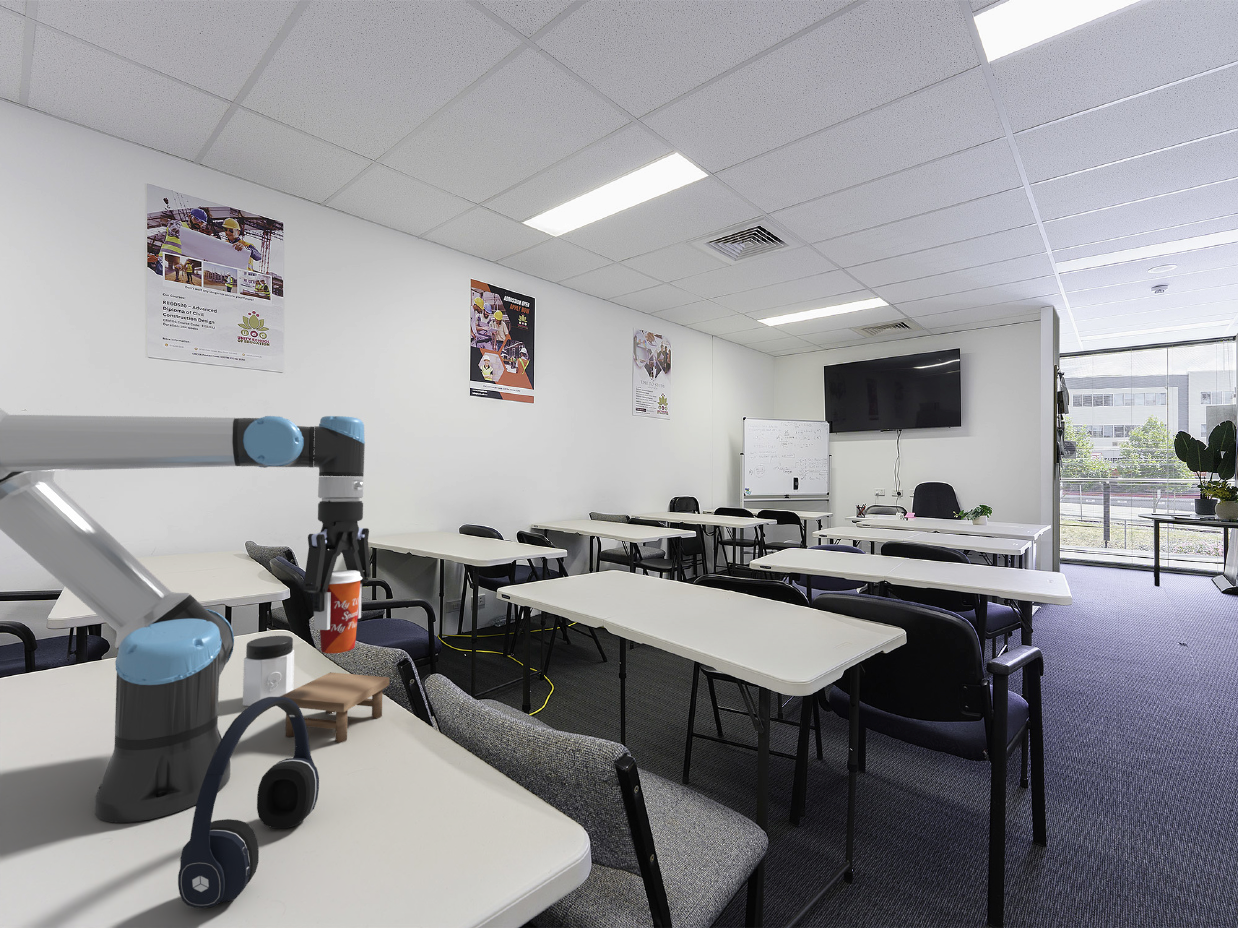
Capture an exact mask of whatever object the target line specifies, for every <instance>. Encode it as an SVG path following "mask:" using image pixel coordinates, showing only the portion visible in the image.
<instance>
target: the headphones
mask: <svg viewBox="0 0 1238 928" xmlns="http://www.w3.org/2000/svg"><path fill="white" fill-rule="evenodd" d="M274 707H278V708H279V709H281V710H282V711H284V713H285V715H286V714H287V715H288V717H289V719H290V721H291V724H292V728H293V732H294V736H293V737H294V753H293V756H292V757H290V758H285V759H283V760H282V759H281V760H280V761H278V762H276V763H275V764H273V765H272V766H271V767H270V768H269V769H268V770H267V771H266V772H265V773H264V775H262V776H261V779H260V782H259V785H258V789H257V796H256V811H257V815H258V819H259V820H260V822H261V823H262V824H263V825H264V826H267V827H269V828H271V829H272V828H274V829H286V828H292V827H294V826H298V825H299V824H300V823H302V822H303V821H304V820H305V819H306V818H307V817H308V816H309V815H310V814H311V813H312V811H314V810H315V807H316V804H317V801H318V799H319V798H318V796H319V790H320V778H319V777H320V776H319V772H318V768H317V767H316V766H315V764H314V760H313V757H312V755H311V749H310V741H309V733H308V727H307V726H306V724H305V720H304V716H303V712H302V711H301V708H299V706H298V705H297V704H296V703H295V702H294V701H293V700H291V699H290V698H286V697H267V698H263V699H261V700H259V701H257V702H255V703H253V704H252V705H250V706H247V707H246V708H245V709H243V710H242V711H241V713H239V714H238V715H237V716H236V717H235V718H234V720H233V721H232V722H231V724H230V725H229V727H227V729H226V731H225V733H224V734H223V736H222V737H221V738H222V740H221V741H220V743H219V745H218V747H217V749H216V751H215V753H214V755H213V757H212V760H211V762H210V764H209V767H208V769H207V772H206V775H205V778H204V781H203V784H202V786H201V789H200V793H199V796H198V800H197V803H196V805H195V809H194V813H193V818H192V825H191V831H190V838H189V841H187V842H186V844H184V846H183V847H182V851H181V853H180V858H179V861H180V865H179V867H180V868H179V870H178V874H177V885H178V892H179V895H180V898H181V901H182V902H184V904H186V905H187V906H189V907H191V908H197V909H199V908H200V909H205V908H211V907H214V906H217V905H219V903H227V902H230V901H233V900H235V899H237V897H239V896H240V894H241V893H242V892H243V891H244V890H245V888H246V887H247V886H248V884H249V883H250V882H251V880H252V878H253V877H254V876H255V873H256V872H257V869H258V865H259V862H260V861H259V858H260V857H259V856H260V855H259V854H260V851H259V850H260V849H259V845H258V844H259V843H258V838H257V835H256V832H255V830H254V828H253V827H252V826H251V825H249V824H248V822H245V821H243V820H240V819H231V818H229V819H228V818H227V819H226V818H225V819H218V820H213V821H212V818H213V812H214V807H215V804H216V803H215V802H216V799H217V795H218V792H219V791H218V789H219V786H220V783H221V780H222V777H223V774H224V771H225V769H226V767H227V764H228V762H229V760H230V761H231V757H232V755H233V753H234V752H235V749H236V747H237V745H238V743H239V742H240V741H241V738H242V736H243V734H244V733H245V732H246V730H247V729H248V727H249V726H250V725H251V724H252V723H253V722H255V720H256V719H257V718H258V717H260V716H261V715H262V714H263V713H265V712H267V711H268V710H270V709H271V708H274Z"/></svg>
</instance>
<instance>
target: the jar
mask: <svg viewBox="0 0 1238 928" xmlns="http://www.w3.org/2000/svg"><path fill="white" fill-rule="evenodd" d="M293 644H294V639H293V637H292V636H289V635H272V636H271V635H269V636H264V637H257V638H255V639H253V640H250V641H248V642H247V643H246V647H245V649H246V651H245V652H246V654H245V655H246V656H245V657H244V658H243V676H242V677H243V679H242V680H243V681H242V682H243V683H242V705H243V706H244V707H249V706H250V705H252V704H253V703H255V702H257V701H259V700H261V699H263V698H267V697H280V696H282V695H284V694H286V693H288V692H290V691H292V690H294V686H295V685H294V683H295V682H294V679H295V678H294V677H295V675H294V674H295V649H294V645H293Z"/></svg>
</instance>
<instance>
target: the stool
mask: <svg viewBox="0 0 1238 928" xmlns="http://www.w3.org/2000/svg"><path fill="white" fill-rule="evenodd" d="M388 686H390V677H389V676H387V677H386V676H378V675H377V676H375V675H363V674H353V673H344V672H343V673H341V672H328V673H326V674H324V675H322V676H320V677H318V678H316V679H314V680H312V681H310V682H309V681H308V682H307V683H305V684H303V685H301V686H299V687H296V688H293V690H292V691H290V692H288V693H286V694H284V695H282V696H280V697H286V698H290V699H291V700H293V701H294V702H295V703H296V704H297V705H298V706H299V708H300V709H307V710H314V711H316V710H317V711H325V714H327V713H329V714H328V715H330V713H331V714H333V713H332V712H335V720H332V719H323V718H314V717H304V716H303V717H304V720H305V724H306V727H310V728H320V729H327V730H335V738H334V739H335V740H334V741H335V742H336V743H337V744H338V743H339V744H340V743H344V742H346V741H347V740H348V714H349V710H350V709H352V708H353V707H356V706H361V707H371V718H372V719H380V718H382V717H383V692H384V691H383V690H384V689H386V688H387V687H388ZM370 697H371V698H370ZM285 737H286V738H290V737H291V738H292V737H295V736H294V732H293V728H292V724H291V721H290V719H289V717H288V715H287V714H286V713H285Z"/></svg>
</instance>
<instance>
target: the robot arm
mask: <svg viewBox="0 0 1238 928" xmlns="http://www.w3.org/2000/svg"><path fill="white" fill-rule="evenodd" d="M365 446H366V442H365V424H364V422H363V421H362V420H361V419H360V418H358V417H354V416H340V415H337V416H335V415H326V416H322V417H321V418H320V421H319V424H318V426H316V425H315V426H303V425H302V426H300V425H296V424H295V422H293V421H291V420H290V419H288V418H284V417H283V416H277V415H276V416H275V415H265V416H262V417H255V418H254V417H211V416H210V417H207V416H205V417H203V416H202V417H201V416H199V417H197V416H193V417H192V416H190V417H189V416H187V417H186V416H135V415H134V416H133V415H131V416H126V415H123V416H121V415H119V416H118V415H106V416H105V415H56V414H55V415H53V414H52V415H51V414H49V415H48V414H44V415H43V414H42V415H41V414H9V413H8V412H6V411H5V410H4V409H2V408H0V531H2V533H4V534H5V535H6V536H7V537H8V538H9V539H11V540H12V541H13V542H14V543H15V544H16V545H18V547H20V548H21V549H22V550H23V551H24V552H25V553H26V554H28V555H29V556H30V557H31V558H32V559H34V561H36V562H37V563H38V564H39V565H40V566H41V567H42V568H43V569H45V570H46V571H47V572H48V573H49V574H51V575H52V576H53V577H54V578H55V579H56V580H57V581H58V582H59V583H61V585H63V586H64V587H65V588H66V589H68V590H69V592H71V593H72V594H73V595H74V596H75V597H77V598H78V599H79V600H80V601H81V602H82V603H84V604H85V605H86V606H87V607H88V608H89V609H90V610H91V611H93V612H94V613H95V614H96V615H97V616H98V617H99V618H100V619H102V620H103V621H104V622H105V623H106V624H107V625H109V627H110V628H112V629H113V630H114V631H115V632H116V637H115V638H116V639H115V643H114V647H115V648H116V649H117V650H118V652H117V656H116V658H115V662H114V663H115V671H116V681H115V682H116V683H115V684H116V686H115V687H116V689H115V715H114V716H115V717H114V718H115V719H114V749H113V752H112V754H111V757H110V760H109V762H108V765H107V767H106V769H105V773H104V776H103V778H102V781H101V783H100V785H99V787H98V788H97V791H96V793H95V798H94V799H95V804H94V814H95V815H96V817H97V818H98V819H99V820H101V821H105V822H108V823H116V824H117V823H118V824H119V823H123V824H125V823H134V822H135V823H136V822H141V821H142V822H143V821H149V820H153V819H154V820H155V819H157V818H158V819H159V818H162V817H165V816H169V815H172V814H175V813H178V812H181V811H183V810H185V809H189V808H192V807H194V806H196V803H197V800H198V796H199V793H200V789H201V786H202V784H203V781H204V778H205V775H206V772H207V769H208V767H209V764H210V762H211V760H212V757H213V755H214V753H215V751H216V749H217V747H218V745H219V743H220V741H221V740H222V738H223V737H222V736H221V733H220V730H219V726H218V723H219V721H218V720H219V719H218V718H219V717H218V716H219V715H218V714H219V687H220V676H221V674H222V672H223V671H224V668H225V667H226V664H227V663H228V662H229V661H230V659H231V657H232V654H233V651H234V646H235V635H234V630H233V627H232V625H231V623H230V622H229V621H228V619H226V618H225V616H223V615H222V614H220V613H219V612H217V611H214V610H212V609H209V608H206V607H205V606H204V605H202V604H201V603H200V602H199V601H197V599H196V598H195V597H194V596H193V595H192V594H190V593H189V592H173V591H171V590H170V589H169V588H168V587H167V586H166V585H165V584H163V582H161V580H160V579H158V577H156V576H155V575H154V574H153V573H152V572H151V571H150V570H149V569H148V568H147V567H146V566H145V565H143V564H142V562H140V561H139V560H138V559H137V558H136V557H135V556H134V555H133V554H131V553H130V552H129V551H128V549H127V548H125V547H124V546H123V545H122V544H121V543H120V542H119V541H118V540H117V539H116V538H115V537H114V536H112V535H111V534H110V532H108V531H107V530H106V529H105V528H104V527H103V526H102V525H101V524H99V522H98V521H96V520H95V519H94V518H93V517H92V516H91V515H90V514H89V513H88V512H87V511H86V510H85V509H84V508H83V507H81V506H80V505H79V503H77V502H76V501H75V500H74V499H73V498H72V497H71V496H70V495H69V494H68V493H67V492H66V491H64V490H63V489H62V488H61V487H60V486H59V485H58V484H57V483H56V482H55V481H54V477H55V472H56V471H60V472H61V471H90V470H92V471H93V470H95V471H97V470H99V471H100V470H129V469H130V470H132V469H133V470H135V469H136V470H137V469H168V468H169V469H177V468H178V469H179V468H181V469H182V468H215V467H216V468H223V467H225V468H226V467H256V468H257V467H258V468H312V469H313V468H318V470H319V472H318V489H317V491H318V492H317V497H318V498H319V499H321V500H320V501H319V502H318V504H317V520H318V521H319V522H321V523H322V526H321V530H320V532H317V533H309V534H308V535H307V542H308V543H307V544H308V551H307V559H306V566H305V571H304V573H305V574H304V578H303V579H304V580H303V585H302V587H303V591H304V592H307V593H312V612H313V630H319V631H320V630H329V629H330V606H331V592H327V589H328V586H329V583H330V579H331V576H332V573H333V571H334V569H335V566H336V563H337V559H338V557H339V556H340V555H341V554H342V557H343V560H344V561H343V562H344V564H345V569H346V570H356V571H359V572H360V576H361V577H362V580H360V592H359V605H358V617H357V620H358V619H361V618H362V598H363V584H367V583H368V581H369V578H371V575H372V574H371V561H370V560H371V559H370V549H369V534H370V529H369V528H368V527H365V528H364V527H359V525H358V522H359V521H360V522H361V521H362V520H364V519H363V518H364V502H363V501H362V500H360V499H362V498H363V497H364V474H365V473H364V472H365V448H366V447H365ZM321 584H322V586H321ZM230 778H231V759H230V760H229V762H228V764H227V767H226V769H225V771H224V774H223V777H222V780H221V783H220V786H219V789H218V792H220V791H221V790H222V789H223V788H224V787H225V786H226V785H227V784H228V782H229V780H230Z"/></svg>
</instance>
